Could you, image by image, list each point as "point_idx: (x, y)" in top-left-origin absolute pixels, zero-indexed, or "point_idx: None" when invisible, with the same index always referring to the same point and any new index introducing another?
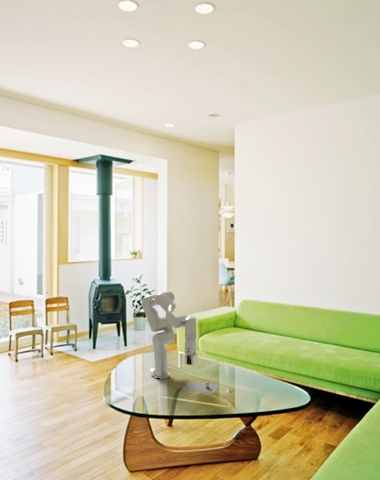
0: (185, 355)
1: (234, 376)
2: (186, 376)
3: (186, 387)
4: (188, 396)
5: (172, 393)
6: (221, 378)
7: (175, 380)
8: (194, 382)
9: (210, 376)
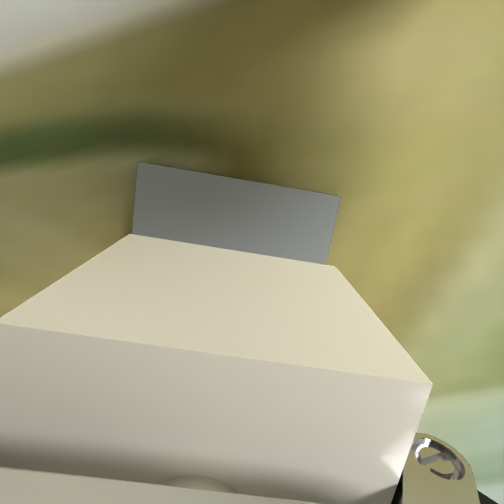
0: (41, 348)
1: (489, 483)
2: (496, 121)
3: (187, 204)
4: (62, 251)
5: (80, 97)
6: (449, 411)
7: (389, 33)
8: (311, 246)
9: (492, 329)
